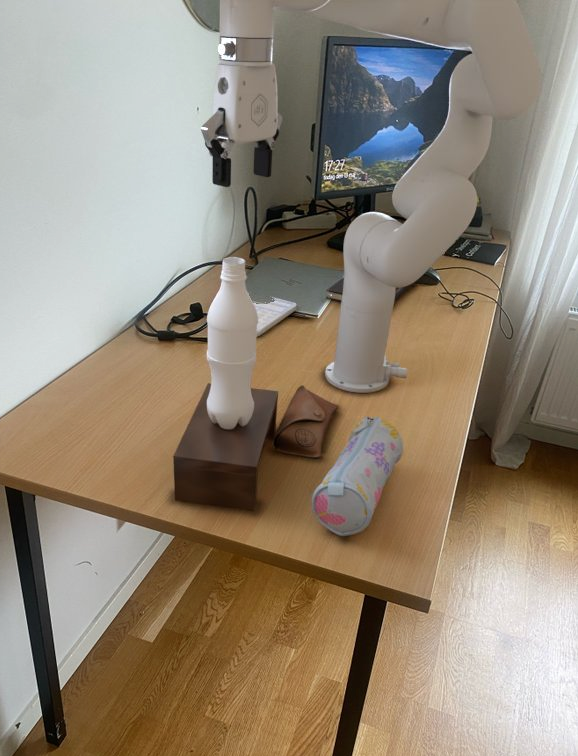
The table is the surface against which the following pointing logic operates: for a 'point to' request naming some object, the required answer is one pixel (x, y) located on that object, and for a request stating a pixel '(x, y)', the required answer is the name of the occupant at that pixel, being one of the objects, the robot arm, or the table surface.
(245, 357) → the water bottle
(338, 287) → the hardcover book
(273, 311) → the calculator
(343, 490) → the pencil case
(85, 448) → the table surface
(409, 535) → the table surface
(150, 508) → the table surface
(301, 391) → the sunglasses case
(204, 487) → the wooden block
